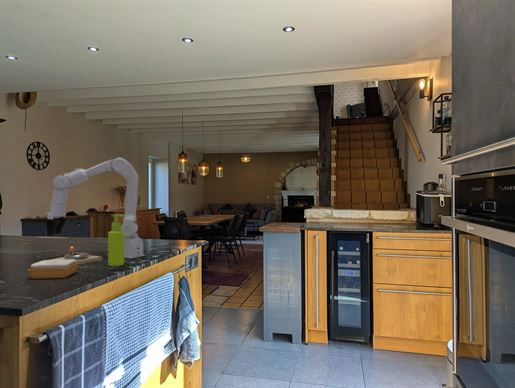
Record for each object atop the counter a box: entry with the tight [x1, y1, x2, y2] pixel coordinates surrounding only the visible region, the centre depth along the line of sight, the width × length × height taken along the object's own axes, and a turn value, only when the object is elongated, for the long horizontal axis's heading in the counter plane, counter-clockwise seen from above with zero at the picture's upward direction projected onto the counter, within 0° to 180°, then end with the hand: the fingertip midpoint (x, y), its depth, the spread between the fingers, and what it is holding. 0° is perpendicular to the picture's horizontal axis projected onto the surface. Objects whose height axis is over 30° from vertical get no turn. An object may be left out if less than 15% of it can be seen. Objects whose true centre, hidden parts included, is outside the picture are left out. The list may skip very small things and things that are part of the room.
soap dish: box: [27, 259, 80, 280], centre depth 120 cm, size 12×10×5 cm
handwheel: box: [63, 246, 90, 259], centre depth 145 cm, size 9×9×4 cm
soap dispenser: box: [107, 213, 126, 267], centre depth 138 cm, size 6×7×20 cm
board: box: [49, 254, 103, 265], centre depth 145 cm, size 14×14×1 cm
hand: (53, 234), depth 149 cm, fingers open, 7 cm apart
